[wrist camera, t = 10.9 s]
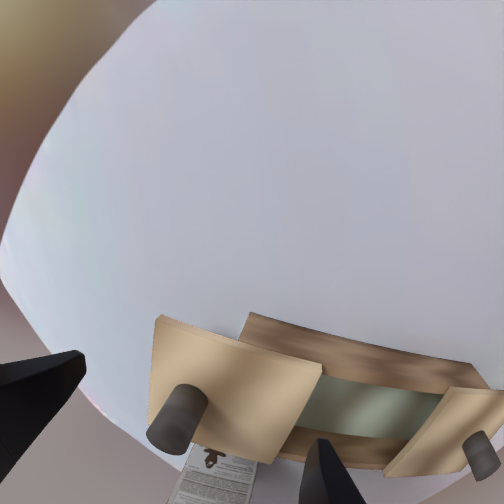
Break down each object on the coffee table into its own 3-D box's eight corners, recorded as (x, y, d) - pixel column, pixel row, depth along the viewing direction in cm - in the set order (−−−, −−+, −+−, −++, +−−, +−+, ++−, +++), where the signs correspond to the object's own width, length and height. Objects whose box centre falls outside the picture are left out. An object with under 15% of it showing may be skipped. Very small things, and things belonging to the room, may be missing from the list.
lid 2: (519, 390, 13) (544, 423, 8) (458, 466, 16) (470, 500, 11) (450, 386, 14) (477, 433, 9) (382, 470, 17) (389, 514, 12)
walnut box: (470, 363, 18) (490, 388, 14) (416, 441, 20) (425, 468, 16) (250, 311, 20) (238, 340, 16) (222, 407, 22) (210, 439, 18)
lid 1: (321, 363, 15) (325, 425, 10) (272, 457, 18) (262, 507, 13) (161, 314, 16) (116, 356, 11) (152, 418, 19) (124, 460, 14)
